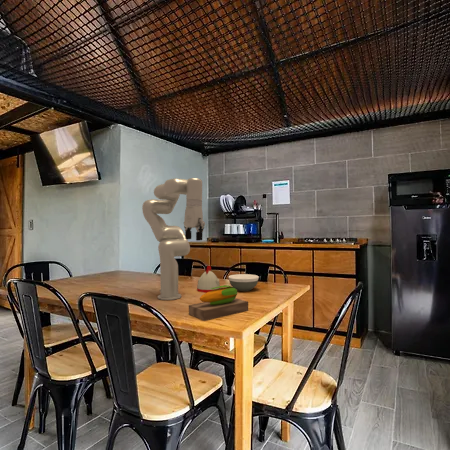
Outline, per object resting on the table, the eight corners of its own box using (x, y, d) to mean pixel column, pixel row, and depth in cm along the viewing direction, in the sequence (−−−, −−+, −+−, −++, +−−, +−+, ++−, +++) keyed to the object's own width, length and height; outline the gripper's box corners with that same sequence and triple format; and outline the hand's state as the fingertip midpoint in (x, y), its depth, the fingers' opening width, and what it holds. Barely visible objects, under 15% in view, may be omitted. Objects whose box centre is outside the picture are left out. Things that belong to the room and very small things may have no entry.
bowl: (234, 286, 196) (234, 273, 196) (262, 288, 189) (262, 274, 189) (223, 291, 179) (223, 277, 179) (254, 293, 172) (254, 279, 172)
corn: (241, 284, 137) (204, 290, 124) (242, 301, 136) (205, 308, 124) (230, 283, 143) (195, 288, 130) (231, 299, 142) (195, 306, 130)
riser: (188, 314, 131) (188, 305, 131) (231, 305, 146) (231, 297, 146) (204, 320, 121) (204, 310, 121) (248, 310, 136) (248, 301, 136)
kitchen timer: (222, 288, 189) (222, 264, 189) (216, 293, 175) (216, 267, 175) (201, 287, 192) (201, 264, 192) (193, 292, 179) (193, 266, 179)
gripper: (178, 204, 150) (177, 238, 150) (197, 203, 136) (196, 241, 137) (191, 205, 154) (190, 238, 155) (210, 204, 141) (210, 240, 141)
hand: (193, 239), depth 146 cm, fingers open, 9 cm apart
